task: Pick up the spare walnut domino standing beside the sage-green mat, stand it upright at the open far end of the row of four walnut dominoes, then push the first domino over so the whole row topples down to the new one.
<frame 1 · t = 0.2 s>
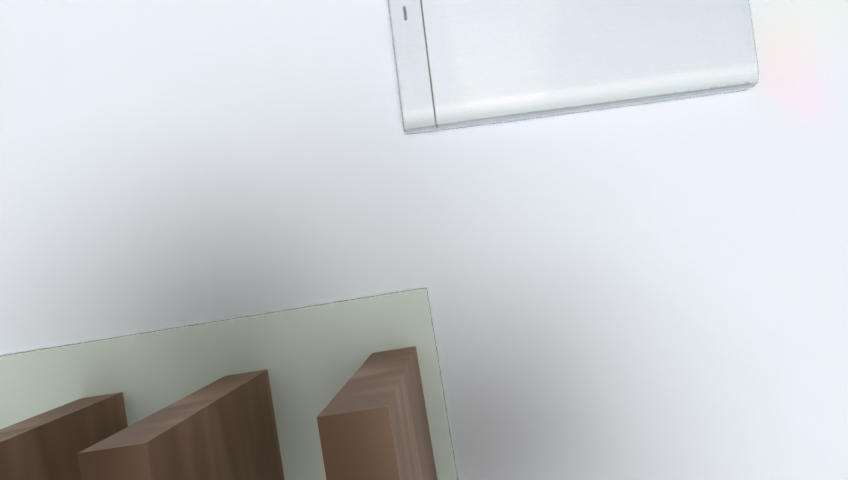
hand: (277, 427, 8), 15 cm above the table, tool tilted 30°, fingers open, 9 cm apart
domino 1: (405, 418, 23), resting on mat
mat: (116, 459, 24), on the table
hard drive: (557, 10, 24), on the table
domino 2: (256, 440, 23), resting on mat
domino 3: (111, 462, 23), resting on mat
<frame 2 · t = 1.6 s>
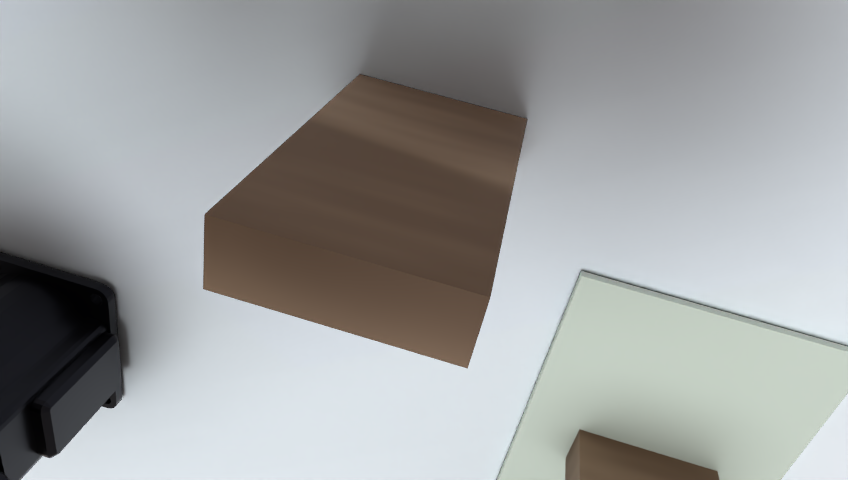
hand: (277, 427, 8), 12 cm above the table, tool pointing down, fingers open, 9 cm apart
domino 4: (639, 464, 23), resting on mat
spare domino: (436, 122, 19), on the table
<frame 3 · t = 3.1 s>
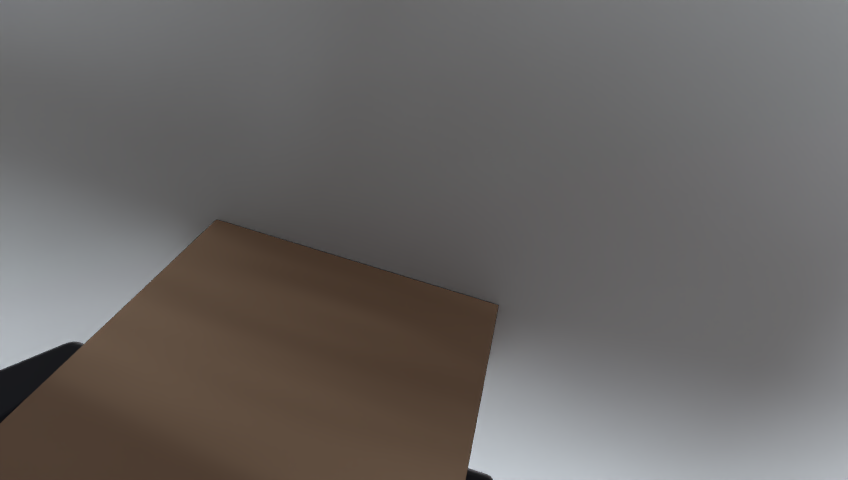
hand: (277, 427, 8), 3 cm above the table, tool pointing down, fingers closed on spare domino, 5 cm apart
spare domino: (348, 298, 11), on the table, touching gripper
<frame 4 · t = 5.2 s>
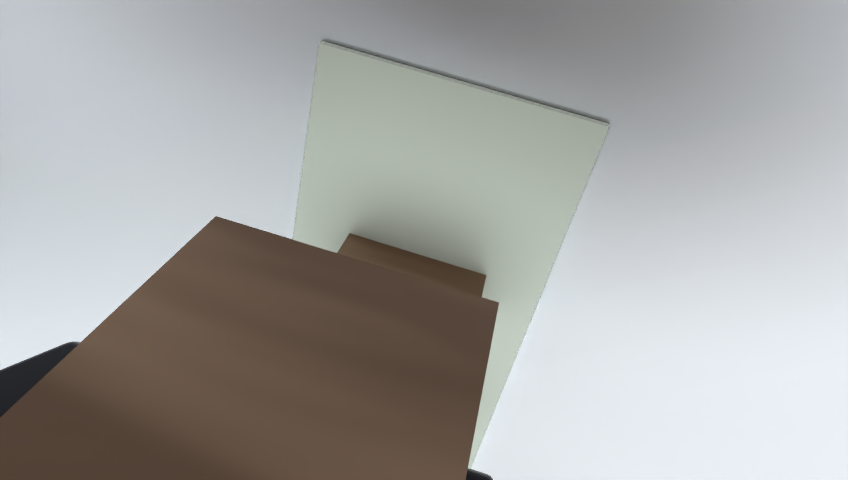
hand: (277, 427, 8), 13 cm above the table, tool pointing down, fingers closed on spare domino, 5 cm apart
mat: (385, 376, 26), on the table
domino 4: (412, 272, 22), resting on mat
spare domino: (348, 295, 11), point 10 cm above the table, touching gripper
when the fingers open (4 cm above the table, at t = 7.2 s): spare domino stays where it is, resting on mat.
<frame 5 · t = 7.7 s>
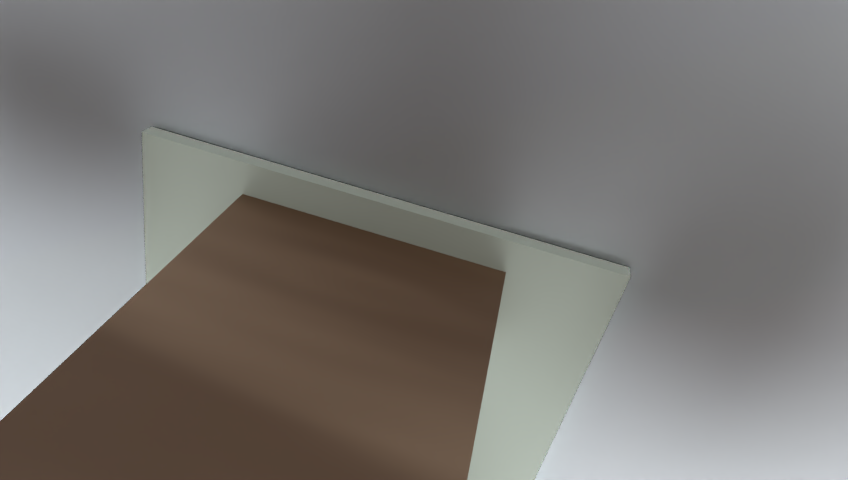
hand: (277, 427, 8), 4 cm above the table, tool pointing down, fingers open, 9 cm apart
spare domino: (365, 268, 12), resting on mat
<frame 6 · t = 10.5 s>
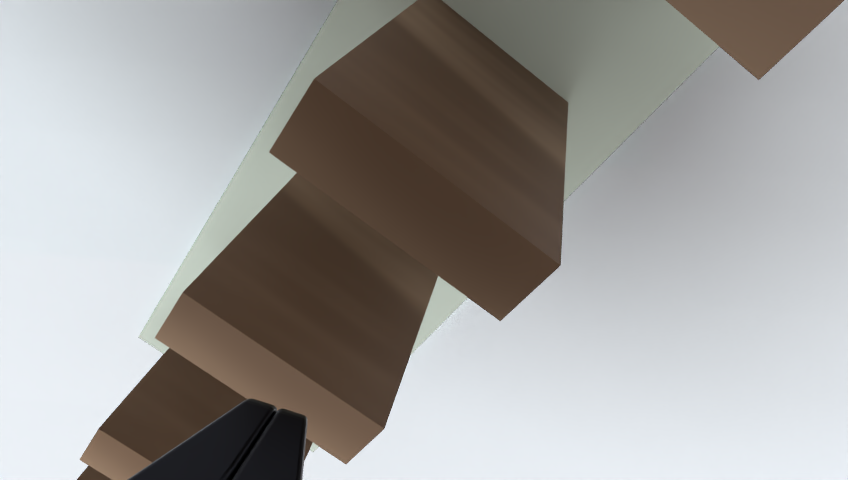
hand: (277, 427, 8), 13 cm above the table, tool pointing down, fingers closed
mat: (383, 195, 21), on the table
domino 4: (483, 70, 18), resting on mat
domino 2: (303, 299, 24), resting on mat
domino 3: (381, 199, 21), resting on mat
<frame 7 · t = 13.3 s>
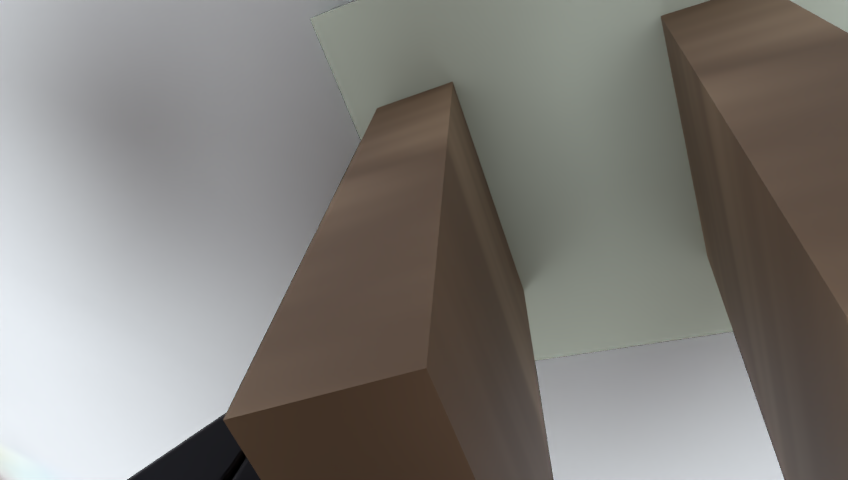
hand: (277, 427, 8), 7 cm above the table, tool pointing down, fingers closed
domino 1: (454, 204, 14), resting on mat, tilted 9°, touching gripper
domino 2: (731, 134, 12), resting on mat
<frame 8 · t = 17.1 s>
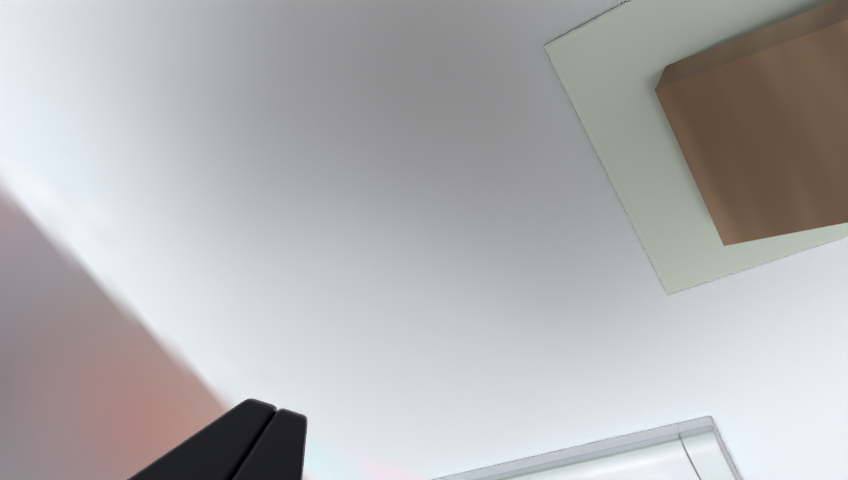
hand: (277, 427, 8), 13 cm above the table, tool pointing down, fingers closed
domino 1: (695, 157, 17), point 1 cm above the table, tilted 73°, touching domino 2, mat
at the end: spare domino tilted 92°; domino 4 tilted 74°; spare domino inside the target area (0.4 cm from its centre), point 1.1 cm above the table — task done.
